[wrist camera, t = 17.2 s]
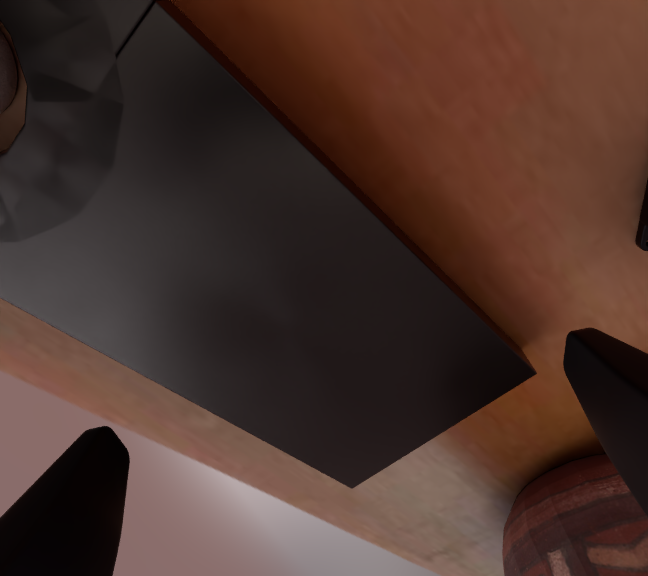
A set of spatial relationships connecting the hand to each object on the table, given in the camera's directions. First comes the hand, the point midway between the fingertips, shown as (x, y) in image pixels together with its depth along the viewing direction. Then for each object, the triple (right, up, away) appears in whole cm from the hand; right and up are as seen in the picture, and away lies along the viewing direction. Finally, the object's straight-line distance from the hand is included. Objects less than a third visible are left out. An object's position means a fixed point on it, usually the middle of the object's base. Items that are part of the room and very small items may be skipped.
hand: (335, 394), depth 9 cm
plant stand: (-6, +4, +12) cm, 14 cm away
